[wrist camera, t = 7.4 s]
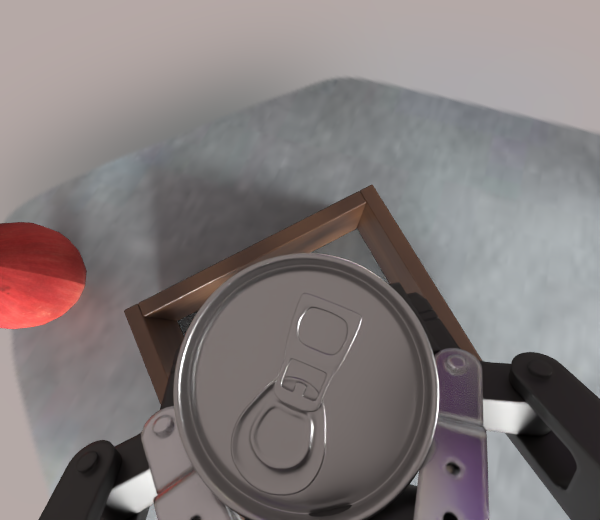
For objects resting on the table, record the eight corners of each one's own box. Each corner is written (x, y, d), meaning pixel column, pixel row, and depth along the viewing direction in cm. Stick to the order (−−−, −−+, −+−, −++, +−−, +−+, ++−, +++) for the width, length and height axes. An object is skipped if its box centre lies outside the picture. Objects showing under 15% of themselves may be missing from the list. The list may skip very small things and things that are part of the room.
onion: (40, 345, 22) (-113, 350, 14) (16, 266, 23) (-136, 229, 15) (125, 305, 22) (21, 287, 14) (97, 229, 23) (-12, 174, 16)
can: (234, 388, 19) (97, 472, 7) (280, 279, 20) (229, 196, 8) (346, 439, 18) (402, 629, 6) (387, 322, 19) (499, 296, 7)
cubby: (361, 213, 23) (372, 183, 18) (468, 391, 20) (511, 406, 16) (161, 315, 22) (123, 310, 18) (245, 518, 19) (225, 571, 15)
